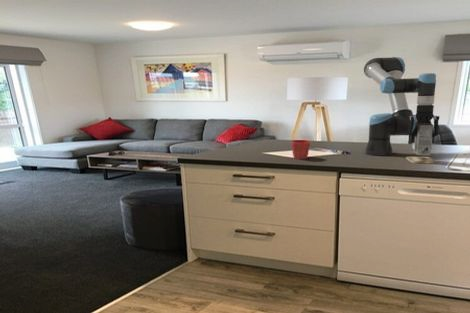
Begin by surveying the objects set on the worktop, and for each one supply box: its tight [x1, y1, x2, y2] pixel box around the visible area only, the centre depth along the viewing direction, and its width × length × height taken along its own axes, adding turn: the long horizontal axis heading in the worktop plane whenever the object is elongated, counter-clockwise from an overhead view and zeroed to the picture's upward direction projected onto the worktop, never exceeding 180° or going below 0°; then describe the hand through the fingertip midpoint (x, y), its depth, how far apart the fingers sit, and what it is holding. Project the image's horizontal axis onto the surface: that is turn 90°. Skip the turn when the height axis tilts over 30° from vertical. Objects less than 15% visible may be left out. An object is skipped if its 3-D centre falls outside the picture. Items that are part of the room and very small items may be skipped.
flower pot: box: [291, 139, 311, 160], centre depth 193 cm, size 11×11×10 cm
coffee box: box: [413, 122, 434, 156], centre depth 174 cm, size 9×6×16 cm
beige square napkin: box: [405, 156, 437, 164], centre depth 177 cm, size 11×11×1 cm
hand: (421, 148), depth 175 cm, fingers closed on coffee box, 7 cm apart
